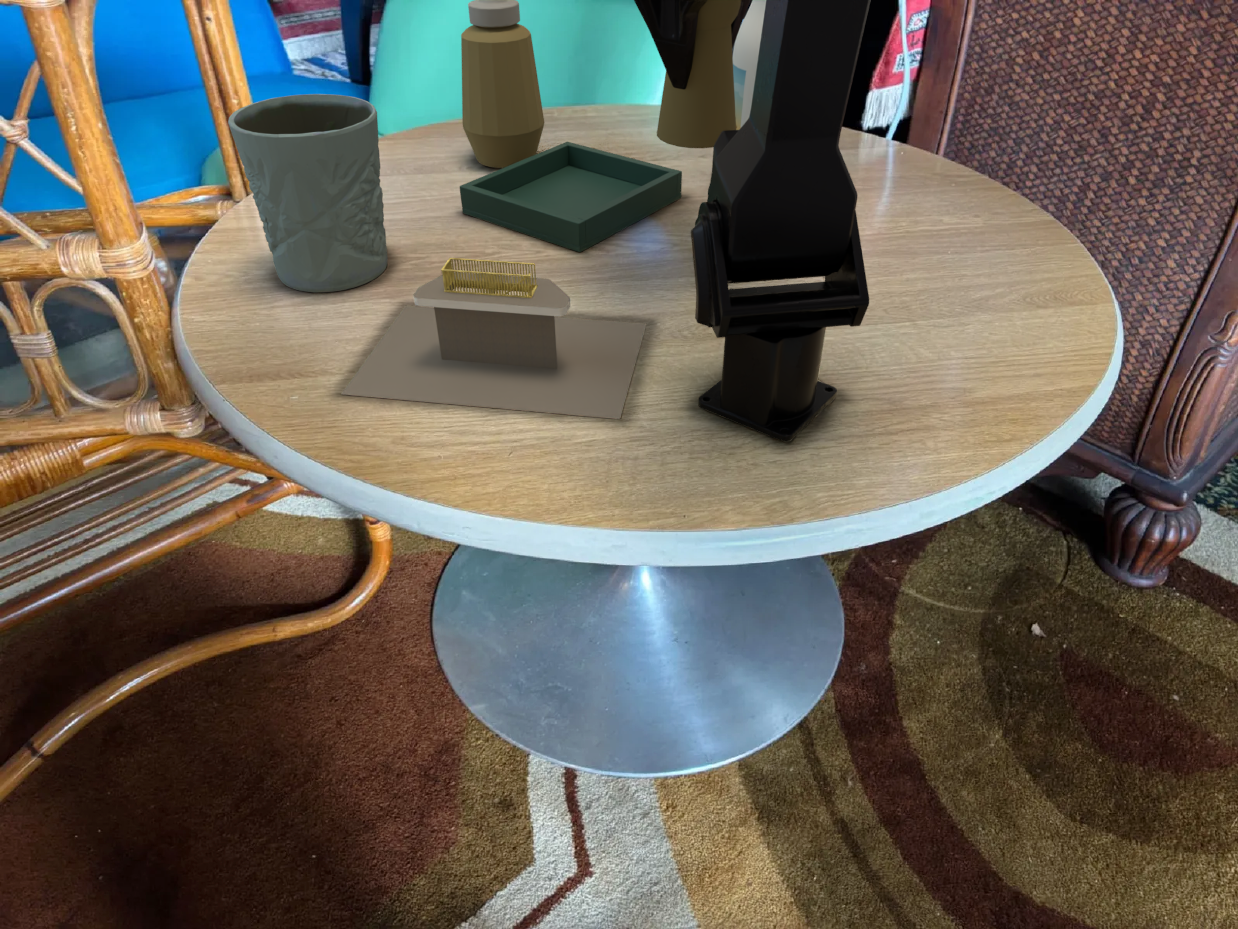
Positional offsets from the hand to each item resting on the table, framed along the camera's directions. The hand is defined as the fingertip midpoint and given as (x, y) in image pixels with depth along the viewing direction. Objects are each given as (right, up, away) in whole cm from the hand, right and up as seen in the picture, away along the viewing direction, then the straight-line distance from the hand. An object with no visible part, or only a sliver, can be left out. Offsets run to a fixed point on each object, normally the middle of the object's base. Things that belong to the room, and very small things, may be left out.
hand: (698, 81), depth 65 cm
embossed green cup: (-28, -12, +6) cm, 31 cm away
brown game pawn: (0, -3, +3) cm, 4 cm away
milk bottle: (+8, -1, +20) cm, 22 cm away
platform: (-14, -21, -5) cm, 25 cm away
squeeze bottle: (-17, +3, +25) cm, 31 cm away
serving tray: (-10, -4, +16) cm, 19 cm away
